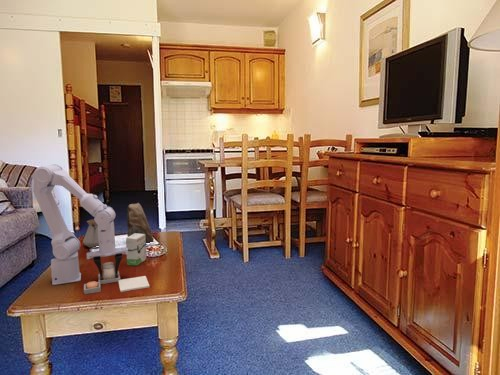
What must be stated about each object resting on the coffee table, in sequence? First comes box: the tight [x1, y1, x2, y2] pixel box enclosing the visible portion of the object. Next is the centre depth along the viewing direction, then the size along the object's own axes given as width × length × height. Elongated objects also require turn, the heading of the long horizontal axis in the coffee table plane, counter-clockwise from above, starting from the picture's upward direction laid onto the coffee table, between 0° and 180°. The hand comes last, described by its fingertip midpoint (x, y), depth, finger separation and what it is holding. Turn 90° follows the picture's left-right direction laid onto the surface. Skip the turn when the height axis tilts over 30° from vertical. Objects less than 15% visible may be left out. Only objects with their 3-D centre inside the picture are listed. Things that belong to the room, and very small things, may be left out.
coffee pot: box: [82, 218, 99, 249], centre depth 174 cm, size 21×12×15 cm, turn 21°
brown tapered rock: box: [125, 202, 154, 243], centre depth 183 cm, size 13×13×20 cm
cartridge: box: [101, 261, 116, 280], centre depth 138 cm, size 4×4×6 cm
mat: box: [117, 275, 150, 293], centre depth 134 cm, size 10×10×1 cm
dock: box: [83, 270, 121, 295], centre depth 135 cm, size 12×14×2 cm
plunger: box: [86, 280, 99, 289], centre depth 129 cm, size 4×4×2 cm
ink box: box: [125, 233, 147, 266], centre depth 156 cm, size 9×5×12 cm, turn 168°
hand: (108, 274), depth 138 cm, fingers open, 5 cm apart
